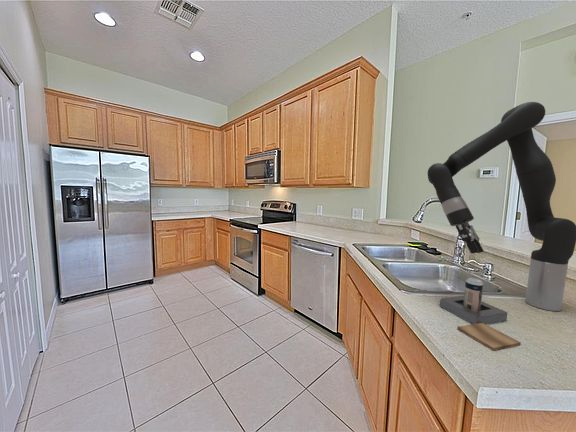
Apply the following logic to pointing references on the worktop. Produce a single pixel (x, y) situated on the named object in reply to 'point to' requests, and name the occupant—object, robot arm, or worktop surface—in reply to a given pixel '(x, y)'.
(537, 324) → the worktop surface
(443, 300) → the metal collar
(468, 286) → the beer can
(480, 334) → the walnut coaster
